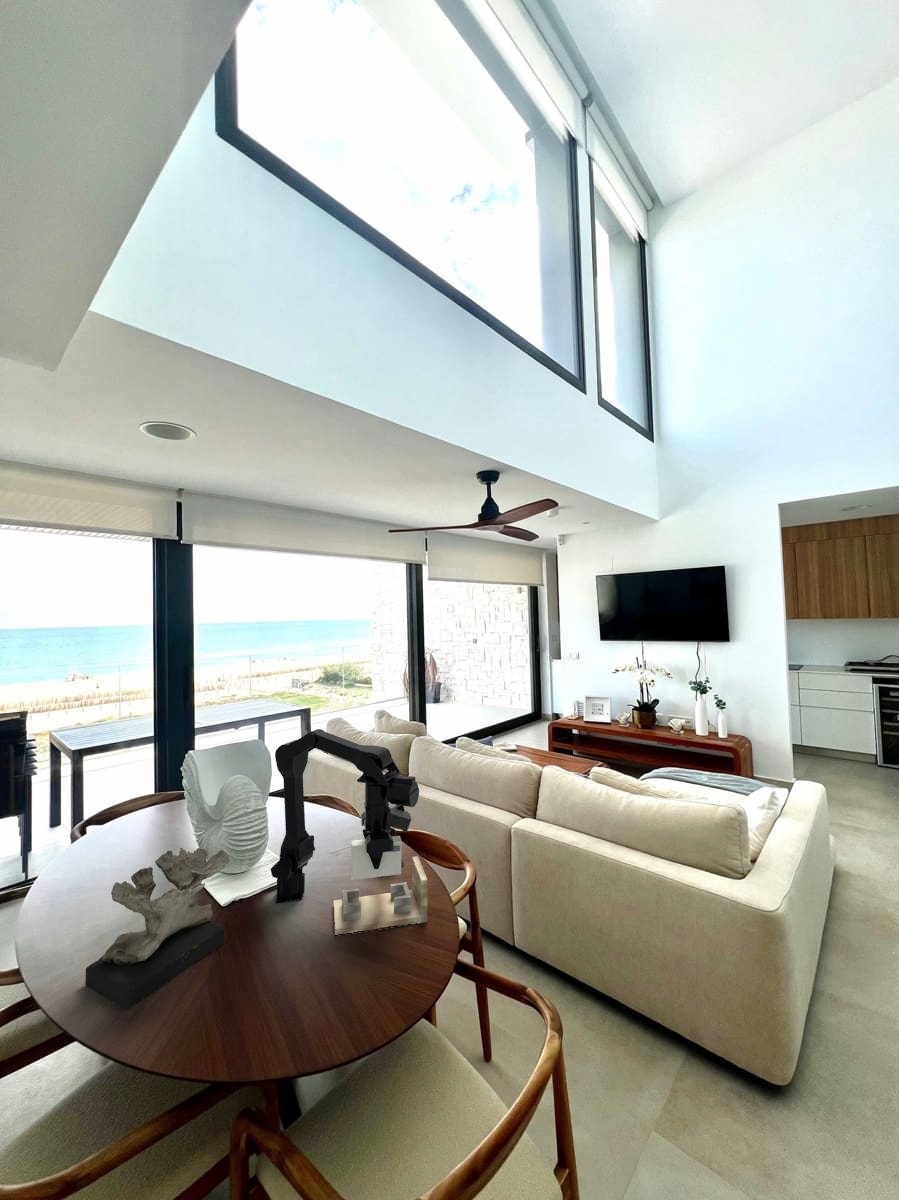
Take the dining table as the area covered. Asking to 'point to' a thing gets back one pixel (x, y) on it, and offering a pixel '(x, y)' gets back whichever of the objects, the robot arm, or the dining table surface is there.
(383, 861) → the door
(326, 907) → the dining table surface
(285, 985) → the dining table surface
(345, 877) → the dining table surface
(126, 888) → the coral
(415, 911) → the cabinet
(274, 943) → the dining table surface
